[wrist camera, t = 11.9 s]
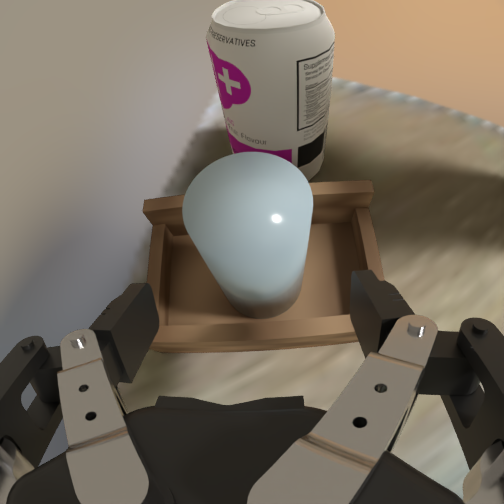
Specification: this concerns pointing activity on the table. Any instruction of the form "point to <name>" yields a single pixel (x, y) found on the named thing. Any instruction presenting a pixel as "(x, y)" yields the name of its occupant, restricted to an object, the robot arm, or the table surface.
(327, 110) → the supplement can
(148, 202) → the wooden serving tray
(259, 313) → the domed pale cylinder
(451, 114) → the table surface
